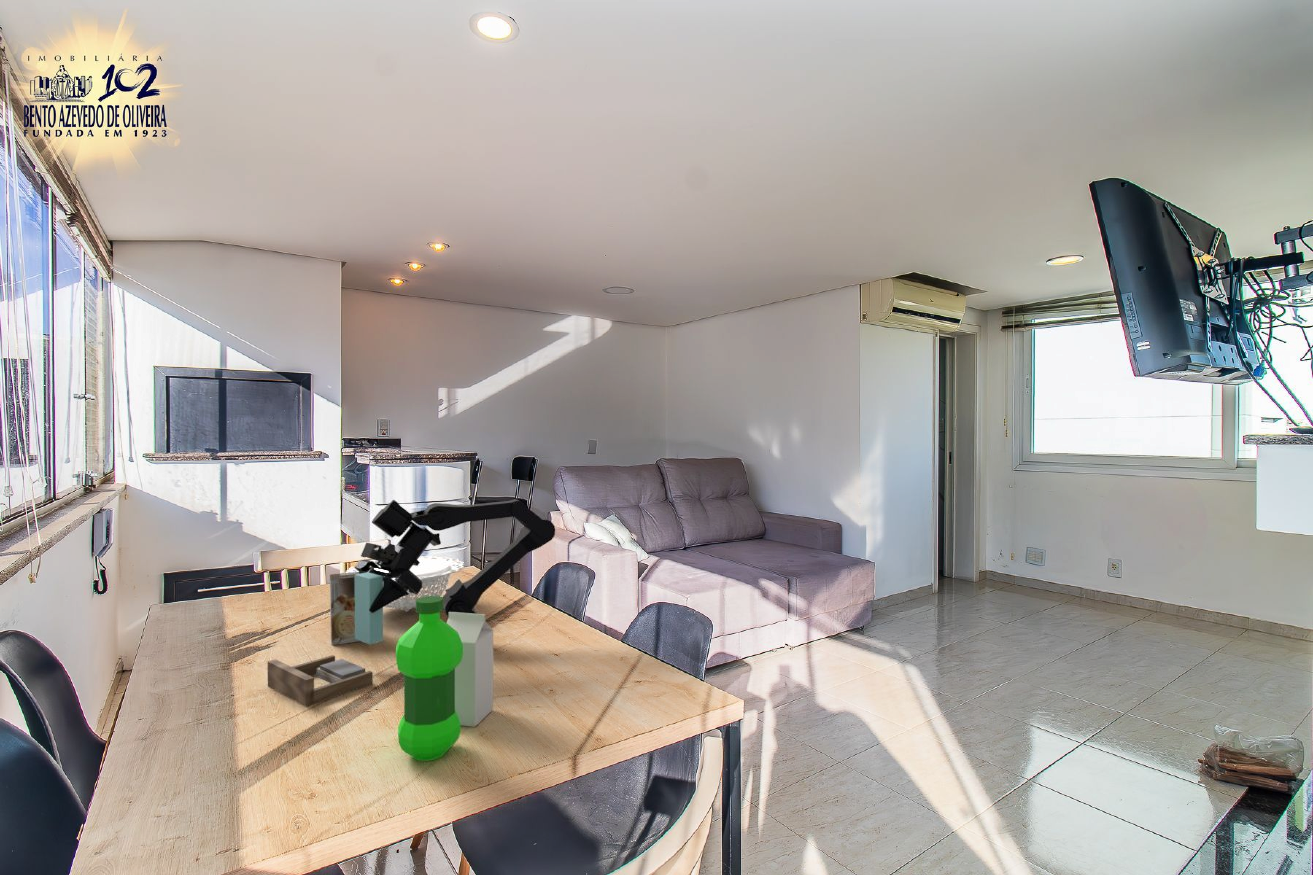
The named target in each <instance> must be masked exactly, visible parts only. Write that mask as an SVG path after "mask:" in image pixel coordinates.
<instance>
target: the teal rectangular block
mask: <svg viewBox="0 0 1313 875" xmlns="http://www.w3.org/2000/svg"><path fill="white" fill-rule="evenodd" d="M382 588H383V576H380V575H376V574H372V573H369V572H367V573H361V574H356V575H355V639H357V640H359V642H362V643H365V644H368V645H373V644H377V643H380V642H383V641H384V614H383V613H384V607H383V608H381V609H379V610H377V611H376V612H374V613H371V612H370V611H369V609H370V607H371V605H372V603H373V602H374V600H375V599H376V597H377V596H378V594H379V593H380V591H381V590H382Z"/></svg>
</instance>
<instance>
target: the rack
mask: <svg viewBox="0 0 1313 875" xmlns="http://www.w3.org/2000/svg"><path fill="white" fill-rule="evenodd" d="M333 661H336V656H335V655H333V654H331V655H329V656H325V657H321V658H318V659H315V660H310V661H307V662H304V663H300V664H297V665H292V666H290V665H289V664H286V663H284V662H282V661H281V660H278V659H276V658H275V659H271V660H268V661H267V686H268V687H270V689H273V690H275V691H276V692H278V693H280V694H282V695H284V696H286V697H288V698H289V699H291V700H293V701H295V702H297V703H299V704H300V705H302V706H304V707H310V706H312V705H314V704H317V703H320V702H324V701H327V700H329V699H333V698H336V697H339V696H341V695H344V694H347V693H350V692H354V691H356V690H360V689H363V688H365V687H368V686H371V685H373V679H374V678H373V671H371V670H369V671H365V673H362V674H359V675H355V676H352V677H349V678H346V679H343V680H340V681H337V682H333V683H330V682H329V683H328V684H325V685H324V684H323V685H321V686H318V687H315V677H313V676H312V675H315V674H316V672H317V668H320V665H323V664H327V663H330V662H333Z"/></svg>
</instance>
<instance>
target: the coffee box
mask: <svg viewBox="0 0 1313 875" xmlns="http://www.w3.org/2000/svg"><path fill="white" fill-rule="evenodd" d="M356 574H359V572H352V573H346V572H343V573H332V574H329V599H330V602H329V604H330V606H329V607H330V645H331V646H337V645H344V644H350V643H357V642H360V641H359V640H357V639H355V607H354V606H353V603H354V601H355V575H356Z"/></svg>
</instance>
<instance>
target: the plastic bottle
mask: <svg viewBox="0 0 1313 875" xmlns="http://www.w3.org/2000/svg"><path fill="white" fill-rule="evenodd" d="M418 598H419V597H418ZM443 611H444V609H443V596H440V597H439V596H431V595H430V596H427V597H421V598H419V599H416V608H415V613H416V614H419V616H418V619H419V620H418V621H416V623H415V624H414V625H413V626H411V627H410V628H409V629H407V631H406V632H405V633H404V634H402V636H400V637H399V638H398V641H397V642H396V645H395V658H396V659H395V661H396V665H397V669H398V671H399V672H400V673H401V674H402V675H403V680H404V682H403V683H404V684H403V687H404V688H403V689H404V690H403V693H404V696H403V698H404V699H403V700H404V701H403V702H404V705H403V707H404V708H403V712H404V713H403V716H402V717H401V719H400V721H399V724H398V726H397V735H398V737H397V738H398V744H399V746H400V749H401V751H403V753H405V754H407V755H408V756H411V757H412V758H413V759H415V760H417V761H420V762H428V761H433V760H434V761H435V760H436V759H439V758H442V757H443V756H444V755H445V754H446V753H447V751H448V750H449V749H450V748H451V747H453V745H455V743H456V742H457V741H458V740H459V738H460V735H461V731H462V727H461V726H462V725H461V724H460V720H459V717H458V714H457V712H456V710H455V668H456V667H457V665H458V664H459V663H460V662H461V660H462V655H463V644H462V642H461V639H460V636H459V634H458V632H457V631H456V630H455V629H453V628H452V627H451V626H450V625H448V624H447V622H445V621H443V620H442V619H441V612H443Z"/></svg>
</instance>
